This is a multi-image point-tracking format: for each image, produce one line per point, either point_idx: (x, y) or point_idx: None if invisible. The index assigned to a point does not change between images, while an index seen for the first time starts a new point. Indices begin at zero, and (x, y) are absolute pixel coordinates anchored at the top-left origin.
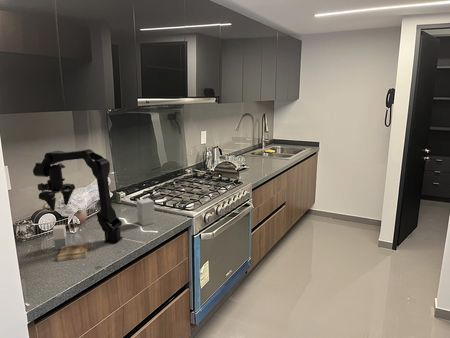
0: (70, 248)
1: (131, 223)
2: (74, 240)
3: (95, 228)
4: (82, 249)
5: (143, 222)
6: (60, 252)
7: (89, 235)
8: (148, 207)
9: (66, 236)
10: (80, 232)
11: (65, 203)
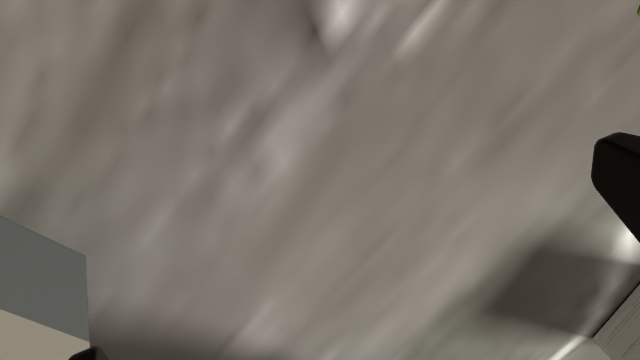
0: None
1: (627, 255)
2: (190, 221)
3: (493, 122)
4: None
5: (611, 357)
6: None
7: (342, 222)
8: None
9: (88, 323)
10: (366, 86)
11: (626, 186)
